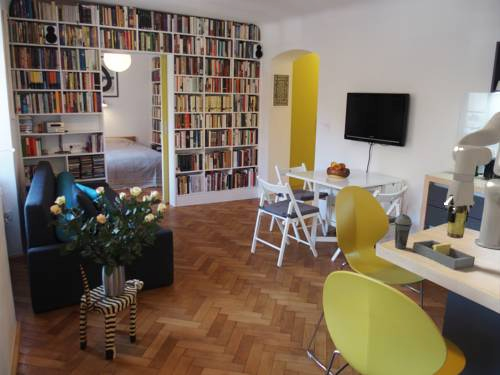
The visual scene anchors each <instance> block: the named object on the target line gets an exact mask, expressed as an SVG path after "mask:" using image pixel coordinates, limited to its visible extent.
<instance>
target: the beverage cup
mask: <svg viewBox="0 0 500 375" xmlns="http://www.w3.org/2000/svg"><path fill="white" fill-rule="evenodd" d="M408 209H409V205H408V204H407V206H406V210H405V213H404V214H399V215H398V216H397V217H396V218H395V219H394V247H395V249H397V250H406V247H407V246H408V245H407V244H408V240H409V235H410V230H411V228H412V225H413V224H412V219H411V217H410V216H409V215H407V213H408Z"/></svg>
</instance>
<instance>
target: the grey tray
mask: <svg viewBox="0 0 500 375" xmlns="http://www.w3.org/2000/svg"><path fill="white" fill-rule="evenodd" d="M438 244H442V243H441V242H438V241H436V240H434V239H430V240H429V239H428V240H422V241H414V242H413V246H412V252H414V253H416V254H418V255H421V256H422V257H425V258H427V259H429V260H431V261H434V262H436V263H437V264H440V265H443V266H445V267H447V268H449V269H451V270H453V271H455V270H462V269H466V268H467V269H468V268H472V267H473V268H474V264H475V260H476V257H475V256H473V255H471V254H468V253H465V252H463V251H461V250H458V249H456V248H453V247H450V254H449V255H444V254H442V253H440V252H437V251H435V250H433V248H432V246H433V245H438Z"/></svg>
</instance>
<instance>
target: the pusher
mask: <svg viewBox="0 0 500 375" xmlns="http://www.w3.org/2000/svg"><path fill="white" fill-rule="evenodd" d="M451 245H452V243H449V242H448V243H447V242H446V243H441V244H438V245H433V246H432V248H433V250H435V251H437V252H440V253H442V254H444V255H449V254H450V247H451ZM451 248H452V247H451Z"/></svg>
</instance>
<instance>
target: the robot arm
mask: <svg viewBox="0 0 500 375" xmlns="http://www.w3.org/2000/svg"><path fill="white" fill-rule="evenodd" d="M496 144H498V148H497V152H496V157H495V161H494V165H493V173H494V175H496V176H499V177H500V111H497V112H496V113H494V114H493V115H492V116H491V117H490V119H489V120H488V121H487V122H486V123H485V125H484V126H483V127H482V128H481V129H478V130H476V131H474V132H471V133H469V134H466V135H464V136H463V137H461V139H460V140H459V141H458V142H457V143H456V145H454V146H453V147H454V148H453V150H452V153H451V156H452V159H453V161H455V162H454V169H453V176H452V180H451V181H450V184H449V185H448V190H447V193H446V198H445V202H444V206H445V208H446V210H447V220H446V221H447V223H448V222H451V223H455V218H456V213H455V211H456V209H457V207H459V206H464V205H466V206H467V215H466V223H467V222H468V218H469V213H470V211H471V209H472V208H473V206H474V205H475V203H476V202H475V200H474V195H475V178H476V177H475V176H476V171H477V170H476V169H477V166H486V165H488V164H489V163H491V161H492V158H493V152H492V150H491V149H490V148H489V146H492V145H493V146H494V145H496ZM483 192H484V194H483V195H484V204H483V209H482V210H483V211H482V216H481V222H480V228H479V229H480V230H479V236H478V238H476V239H475V240H474V244H475V245H477V246H480V247H482V248H487V249H492V250H500V178H491V179H488V180H487V181H486V182H485V184H484V190H483ZM453 204H454V205H453ZM452 207H454V208H453V209H452Z"/></svg>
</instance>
